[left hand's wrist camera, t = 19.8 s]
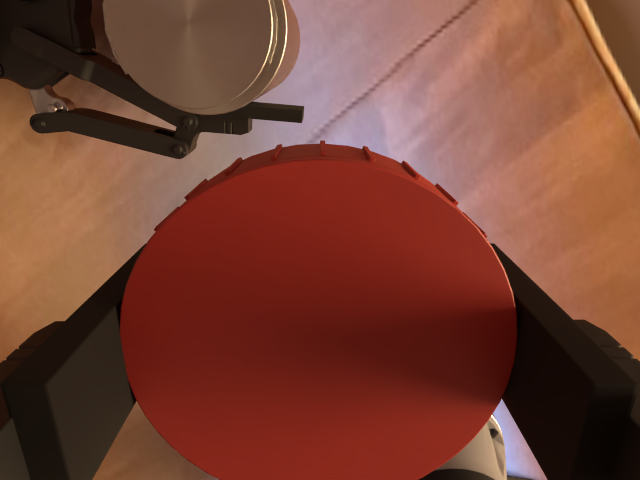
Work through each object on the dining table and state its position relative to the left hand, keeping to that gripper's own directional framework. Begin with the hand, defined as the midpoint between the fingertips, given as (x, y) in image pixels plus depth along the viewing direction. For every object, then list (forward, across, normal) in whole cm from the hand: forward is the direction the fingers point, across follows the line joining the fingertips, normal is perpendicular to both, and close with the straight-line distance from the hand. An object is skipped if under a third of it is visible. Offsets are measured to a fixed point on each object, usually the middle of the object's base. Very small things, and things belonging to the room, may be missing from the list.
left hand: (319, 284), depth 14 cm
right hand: (+17, +1, -8) cm, 19 cm away
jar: (+24, +6, -9) cm, 26 cm away
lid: (-4, 0, 0) cm, 4 cm away
